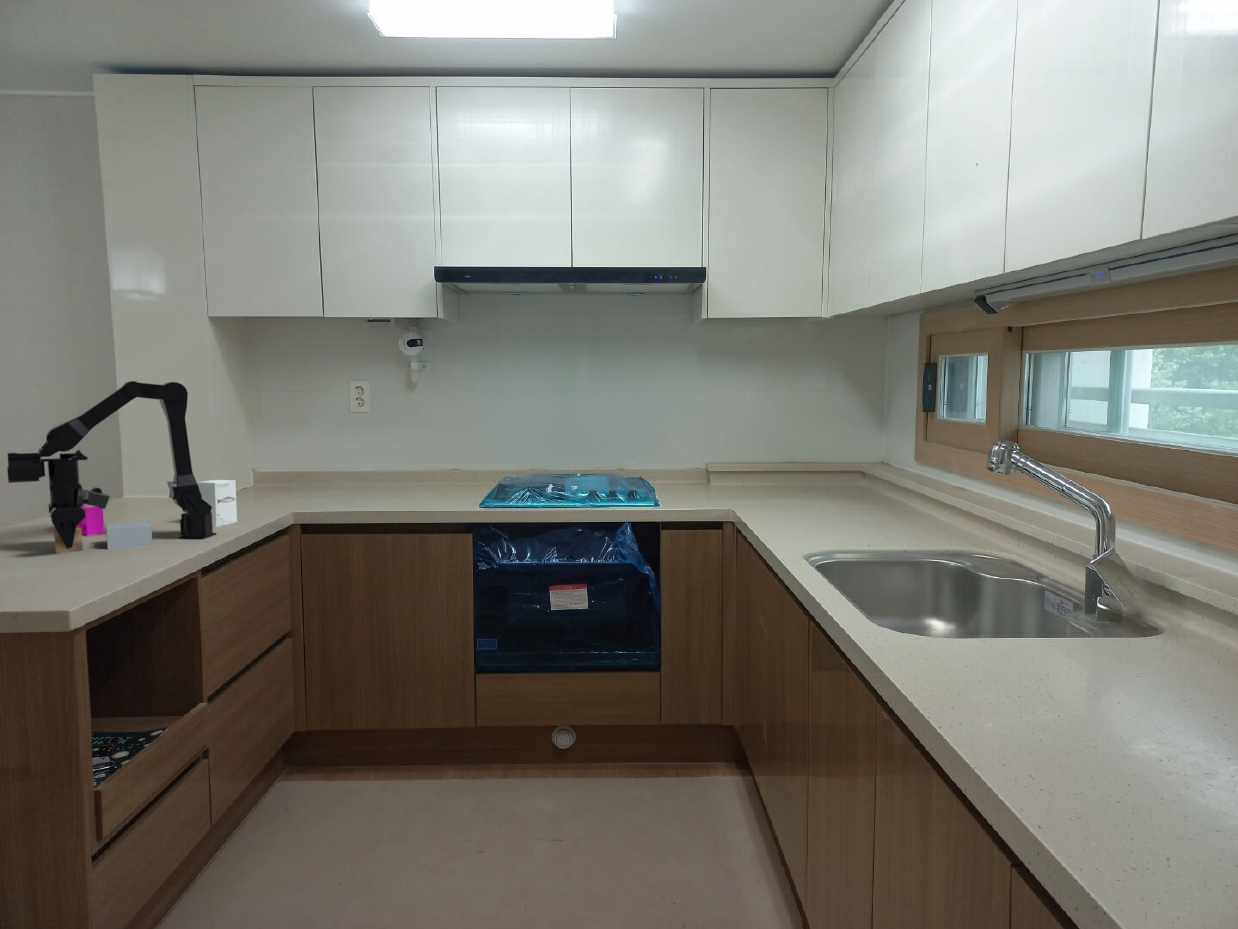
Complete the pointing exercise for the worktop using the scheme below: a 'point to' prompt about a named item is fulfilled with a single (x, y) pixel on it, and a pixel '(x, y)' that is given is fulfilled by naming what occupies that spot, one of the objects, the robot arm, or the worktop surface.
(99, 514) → the toy block
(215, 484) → the supplement box
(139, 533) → the slate base block
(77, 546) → the walnut cube
